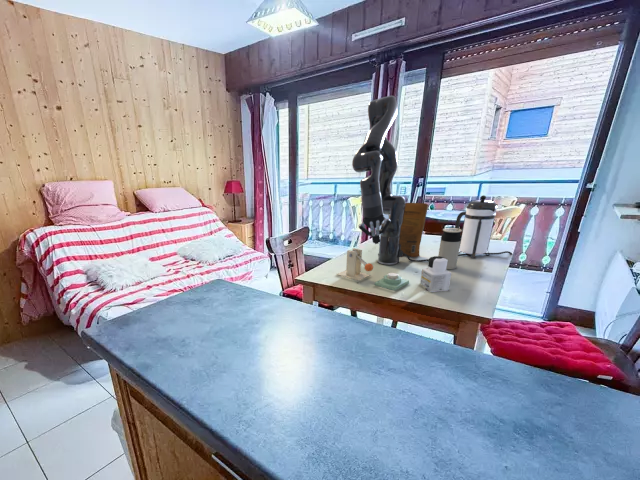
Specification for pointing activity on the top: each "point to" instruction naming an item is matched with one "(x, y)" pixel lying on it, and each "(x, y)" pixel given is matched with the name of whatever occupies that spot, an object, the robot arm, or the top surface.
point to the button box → (391, 283)
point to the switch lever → (364, 263)
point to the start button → (392, 276)
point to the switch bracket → (353, 266)
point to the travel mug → (450, 246)
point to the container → (436, 275)
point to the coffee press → (477, 226)
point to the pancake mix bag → (412, 228)
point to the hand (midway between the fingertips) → (376, 243)
